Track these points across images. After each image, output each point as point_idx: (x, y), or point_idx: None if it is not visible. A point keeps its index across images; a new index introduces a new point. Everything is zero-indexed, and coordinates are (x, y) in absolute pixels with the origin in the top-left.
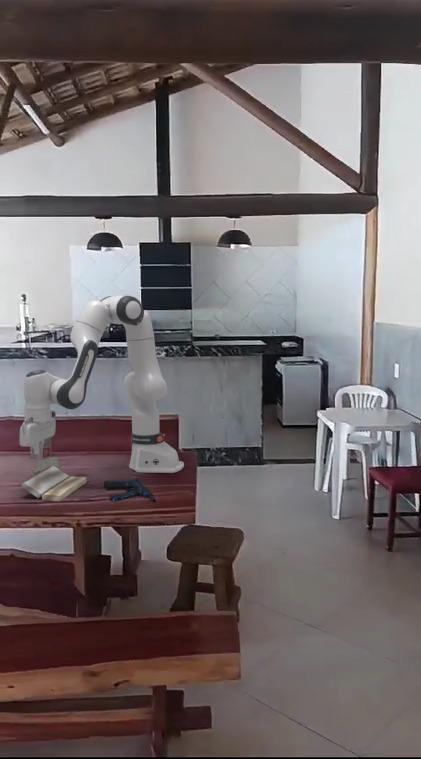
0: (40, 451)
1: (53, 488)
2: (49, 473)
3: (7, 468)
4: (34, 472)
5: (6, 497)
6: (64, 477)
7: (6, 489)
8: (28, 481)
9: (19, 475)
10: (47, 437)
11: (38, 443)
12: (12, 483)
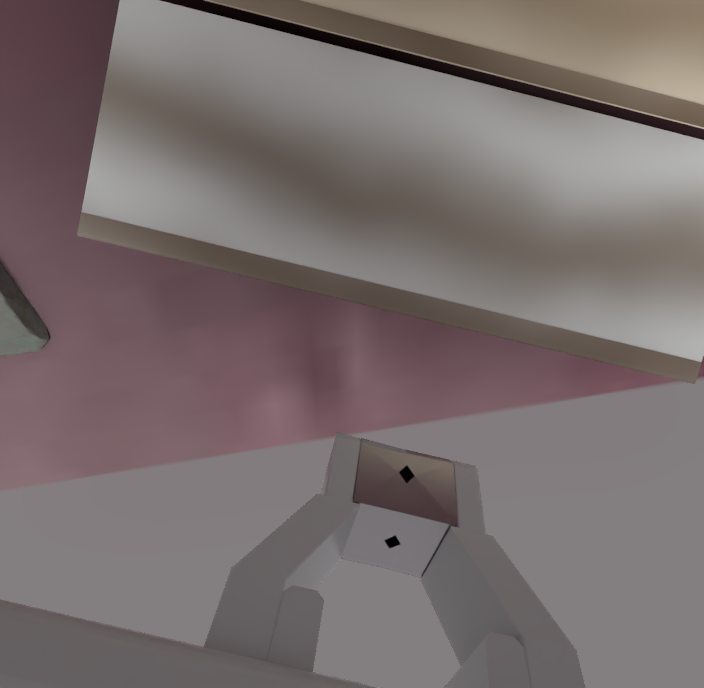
0: (407, 465)
1: (588, 64)
2: (289, 201)
3: (24, 483)
4: (40, 348)
5: (573, 398)
6: (207, 29)
7: (400, 426)
8: (642, 335)
9: (119, 413)
10: (64, 648)
11: (526, 680)
12: (279, 419)
